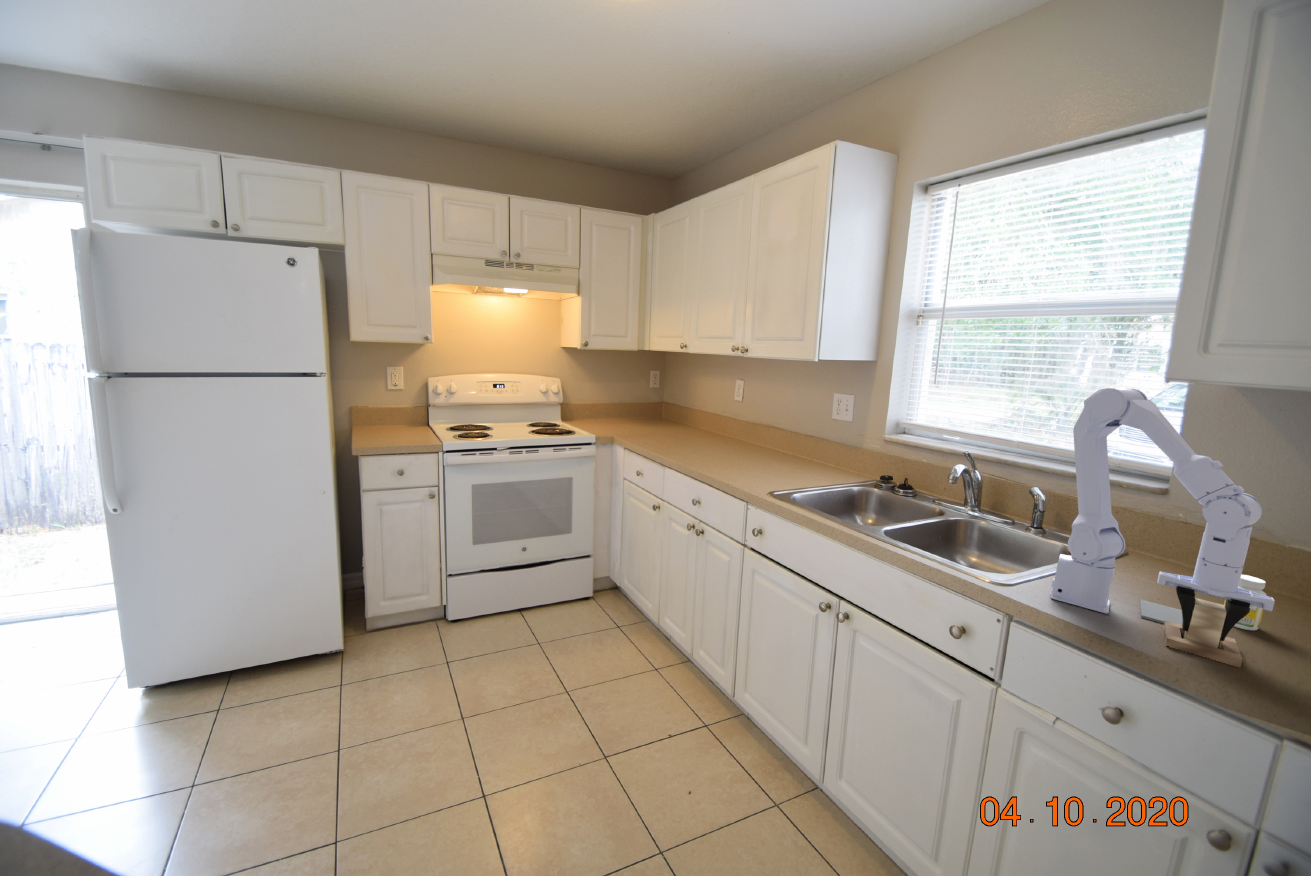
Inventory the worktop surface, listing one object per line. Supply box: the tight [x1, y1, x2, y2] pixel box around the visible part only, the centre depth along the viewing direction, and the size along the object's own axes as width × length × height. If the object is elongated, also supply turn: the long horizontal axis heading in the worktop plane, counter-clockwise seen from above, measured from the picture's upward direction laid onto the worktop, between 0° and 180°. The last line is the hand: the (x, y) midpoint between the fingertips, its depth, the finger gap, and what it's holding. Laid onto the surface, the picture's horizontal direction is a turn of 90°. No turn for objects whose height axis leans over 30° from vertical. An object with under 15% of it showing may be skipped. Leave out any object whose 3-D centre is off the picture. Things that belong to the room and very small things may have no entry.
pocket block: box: [1162, 620, 1243, 668], centre depth 102 cm, size 10×10×2 cm
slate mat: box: [1139, 599, 1183, 625], centre depth 113 cm, size 10×10×1 cm
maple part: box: [1183, 597, 1227, 649], centre depth 101 cm, size 4×4×8 cm
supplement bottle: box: [1223, 573, 1268, 631], centre depth 111 cm, size 5×5×10 cm
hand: (1202, 633), depth 102 cm, fingers closed on maple part, 4 cm apart
